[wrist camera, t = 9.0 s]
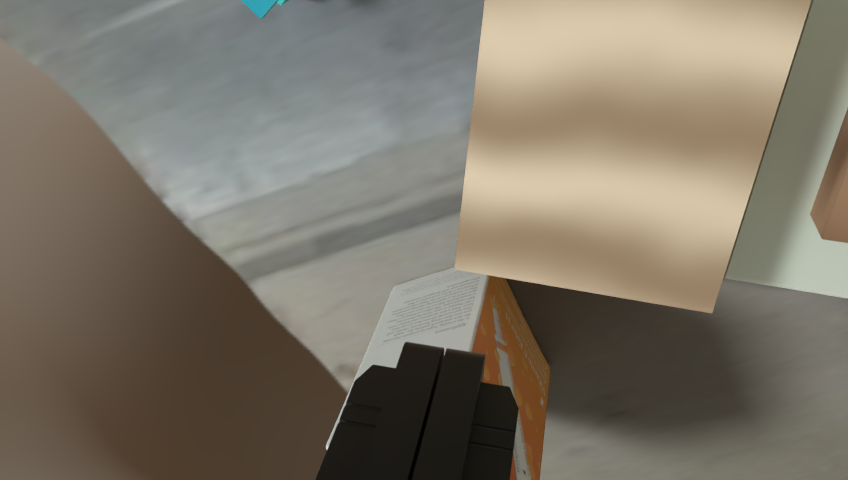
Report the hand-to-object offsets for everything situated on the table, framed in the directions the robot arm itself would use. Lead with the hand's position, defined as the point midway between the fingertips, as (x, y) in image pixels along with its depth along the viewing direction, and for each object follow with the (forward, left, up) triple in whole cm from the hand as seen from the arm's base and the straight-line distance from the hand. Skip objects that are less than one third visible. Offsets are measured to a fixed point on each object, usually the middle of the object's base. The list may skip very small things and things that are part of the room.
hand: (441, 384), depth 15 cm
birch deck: (+2, +4, -25) cm, 25 cm away
